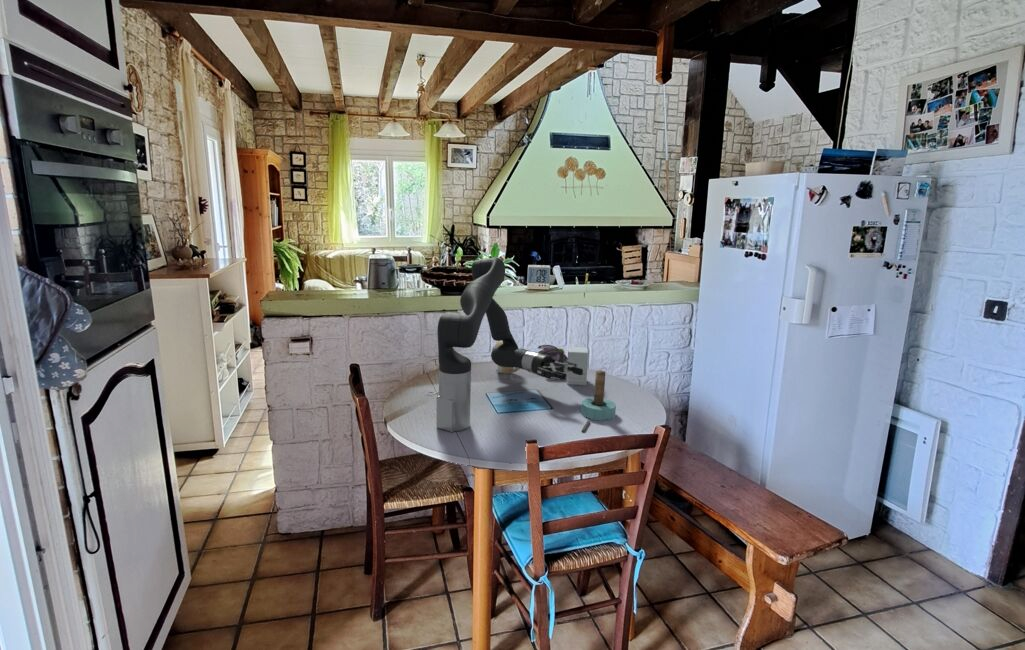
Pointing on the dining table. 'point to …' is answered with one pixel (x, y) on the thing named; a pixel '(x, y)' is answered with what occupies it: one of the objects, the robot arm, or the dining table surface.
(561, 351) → the decorative flower
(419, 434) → the dining table surface
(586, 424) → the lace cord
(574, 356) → the supplement box
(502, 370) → the kitten
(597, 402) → the brown wooden rod
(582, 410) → the teal ring
